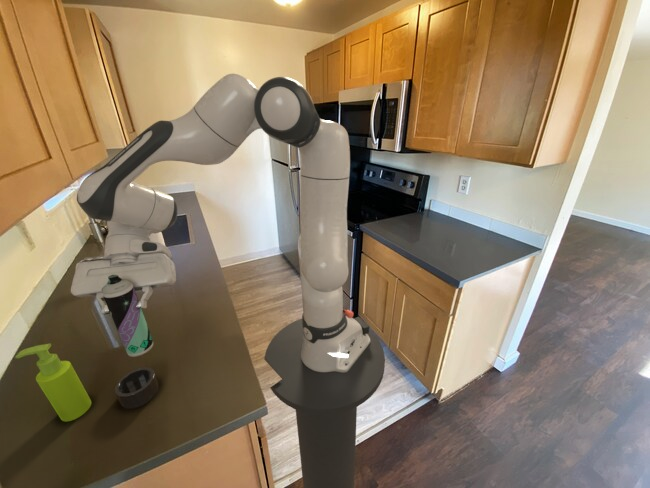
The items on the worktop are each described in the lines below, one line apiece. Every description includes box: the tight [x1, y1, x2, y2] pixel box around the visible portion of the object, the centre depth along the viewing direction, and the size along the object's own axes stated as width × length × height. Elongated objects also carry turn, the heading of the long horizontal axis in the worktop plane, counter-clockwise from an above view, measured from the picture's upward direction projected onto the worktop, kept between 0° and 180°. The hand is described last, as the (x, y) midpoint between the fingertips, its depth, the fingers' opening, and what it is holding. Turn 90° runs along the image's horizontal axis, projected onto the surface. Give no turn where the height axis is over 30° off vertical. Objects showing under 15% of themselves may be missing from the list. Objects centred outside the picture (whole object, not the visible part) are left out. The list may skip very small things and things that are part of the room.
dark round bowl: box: [114, 367, 160, 410], centre depth 70 cm, size 8×8×4 cm
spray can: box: [102, 275, 154, 358], centre depth 62 cm, size 6×6×20 cm
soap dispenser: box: [14, 343, 92, 423], centre depth 63 cm, size 6×7×20 cm
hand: (124, 311), depth 61 cm, fingers closed on spray can, 5 cm apart
